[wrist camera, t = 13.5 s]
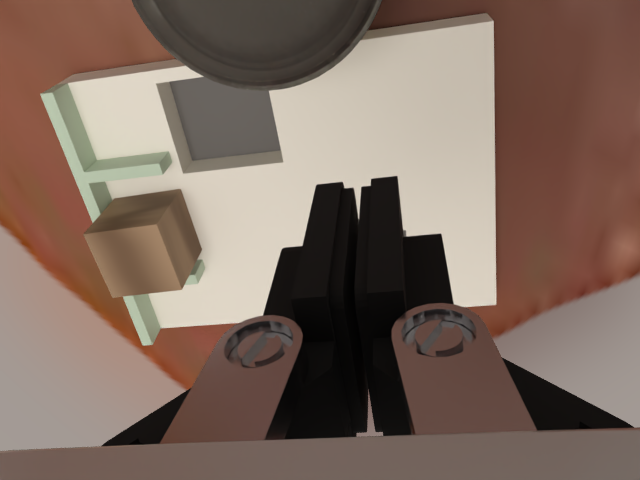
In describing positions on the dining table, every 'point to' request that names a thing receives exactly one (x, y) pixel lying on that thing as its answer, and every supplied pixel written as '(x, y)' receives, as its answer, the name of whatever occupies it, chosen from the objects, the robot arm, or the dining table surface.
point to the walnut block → (144, 243)
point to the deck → (294, 158)
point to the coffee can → (258, 37)
